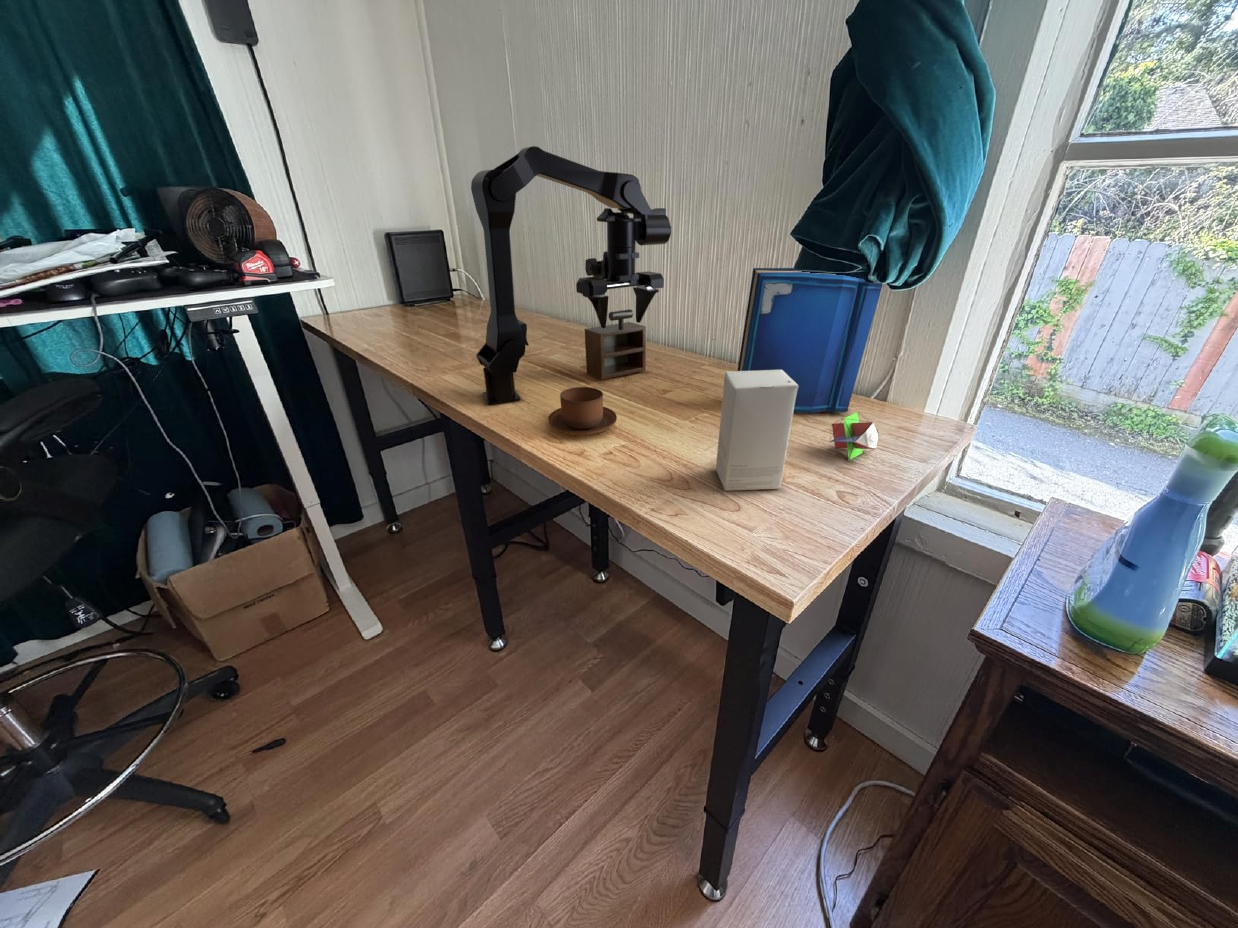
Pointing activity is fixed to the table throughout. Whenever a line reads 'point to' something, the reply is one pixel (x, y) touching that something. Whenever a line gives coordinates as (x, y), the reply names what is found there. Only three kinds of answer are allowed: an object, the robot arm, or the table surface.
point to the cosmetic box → (754, 428)
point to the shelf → (616, 347)
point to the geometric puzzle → (854, 435)
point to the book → (809, 332)
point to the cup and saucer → (582, 412)
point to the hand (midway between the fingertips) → (621, 325)
